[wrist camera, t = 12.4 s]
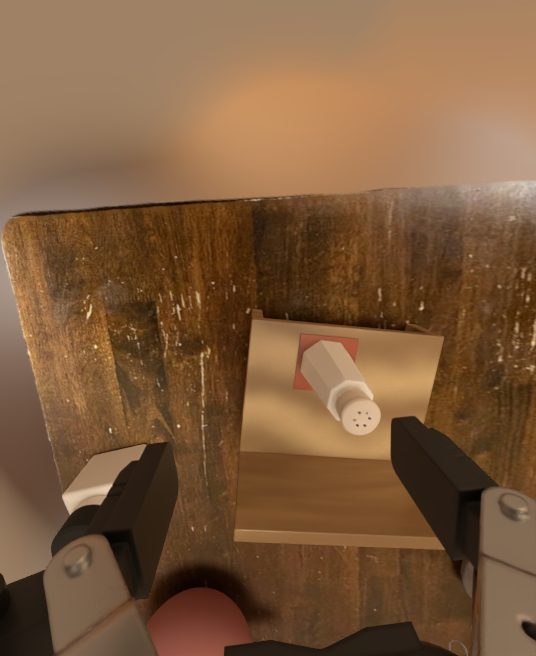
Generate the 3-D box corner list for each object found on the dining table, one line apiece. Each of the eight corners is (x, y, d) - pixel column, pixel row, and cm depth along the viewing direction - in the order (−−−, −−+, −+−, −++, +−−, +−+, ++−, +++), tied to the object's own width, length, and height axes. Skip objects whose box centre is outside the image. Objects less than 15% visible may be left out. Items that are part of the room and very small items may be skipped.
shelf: (251, 308, 37) (252, 348, 21) (415, 324, 38) (527, 372, 23) (240, 430, 40) (233, 541, 25) (390, 440, 42) (472, 551, 26)
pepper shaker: (332, 397, 33) (371, 466, 22) (289, 373, 32) (307, 432, 21) (361, 355, 32) (416, 405, 21) (317, 329, 31) (352, 368, 20)
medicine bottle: (111, 500, 42) (56, 595, 30) (92, 454, 40) (27, 536, 28) (163, 488, 42) (129, 579, 30) (147, 442, 40) (104, 519, 28)
